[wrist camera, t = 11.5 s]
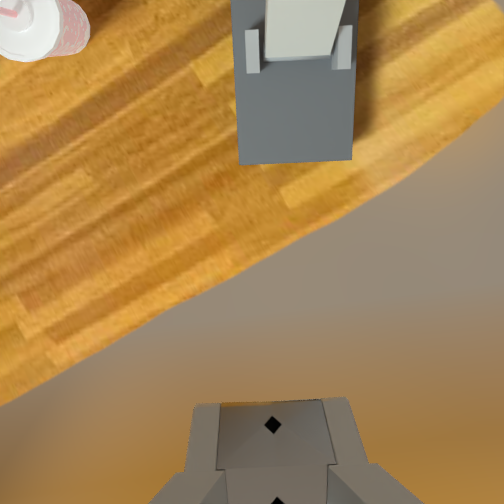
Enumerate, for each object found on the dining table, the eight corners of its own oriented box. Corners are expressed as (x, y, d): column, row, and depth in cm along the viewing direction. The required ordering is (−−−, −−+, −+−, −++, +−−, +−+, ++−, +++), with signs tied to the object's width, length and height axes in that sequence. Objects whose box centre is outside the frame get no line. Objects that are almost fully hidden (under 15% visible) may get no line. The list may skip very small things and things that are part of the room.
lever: (261, 70, 35) (264, -48, 24) (260, 44, 35) (262, -84, 24) (331, 67, 35) (368, -53, 24) (329, 41, 35) (365, -88, 24)
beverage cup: (54, 75, 40) (-35, 77, 28) (14, 7, 38) (-103, -27, 25) (112, 45, 40) (48, 33, 27) (74, -27, 37) (-16, -79, 25)
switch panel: (239, 155, 44) (239, 170, 37) (228, -62, 37) (225, -93, 30) (340, 150, 44) (358, 165, 37) (347, -67, 37) (372, -100, 30)
